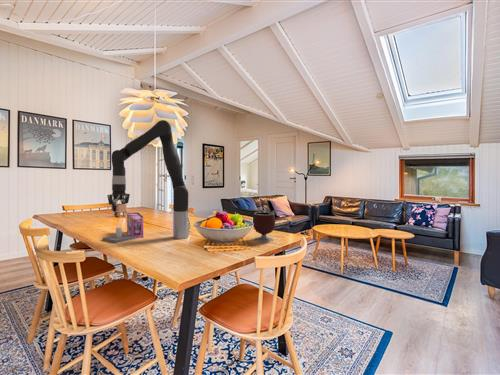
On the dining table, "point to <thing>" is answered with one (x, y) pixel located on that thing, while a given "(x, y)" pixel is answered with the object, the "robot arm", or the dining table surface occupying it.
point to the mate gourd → (264, 225)
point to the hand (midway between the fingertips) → (118, 210)
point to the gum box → (135, 225)
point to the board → (116, 240)
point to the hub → (120, 208)
